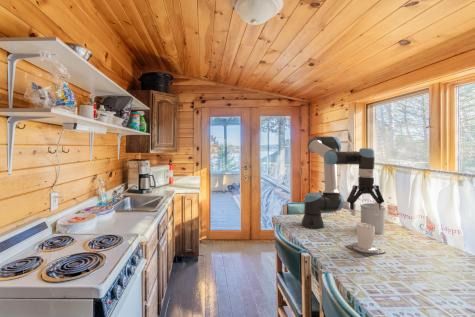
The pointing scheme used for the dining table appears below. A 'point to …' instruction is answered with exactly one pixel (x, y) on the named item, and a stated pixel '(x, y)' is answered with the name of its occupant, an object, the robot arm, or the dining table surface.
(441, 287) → the dining table surface
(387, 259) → the dining table surface
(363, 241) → the cup
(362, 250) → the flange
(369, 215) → the utensil holder
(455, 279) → the dining table surface
